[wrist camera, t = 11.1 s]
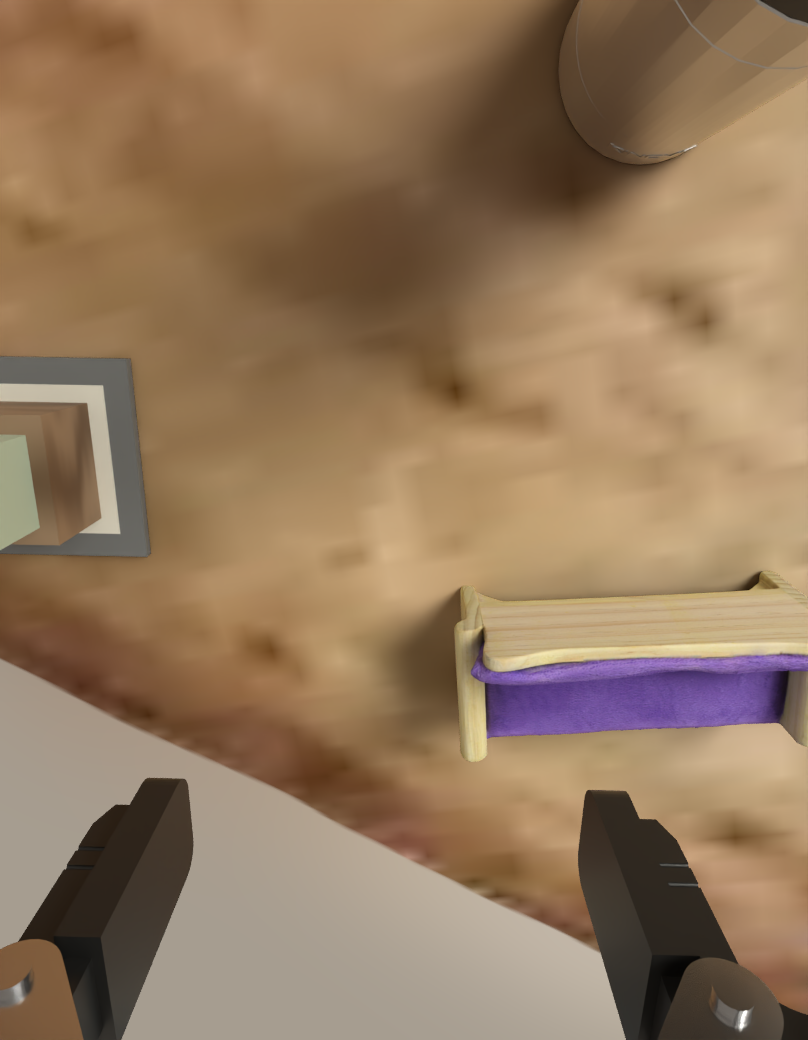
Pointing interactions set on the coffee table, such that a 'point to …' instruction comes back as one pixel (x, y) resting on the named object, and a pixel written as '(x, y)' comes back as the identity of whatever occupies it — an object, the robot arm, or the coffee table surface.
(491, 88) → the coffee table surface
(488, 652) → the toy sofa
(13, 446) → the sage cube
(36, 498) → the walnut base block
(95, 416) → the mat
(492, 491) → the coffee table surface
